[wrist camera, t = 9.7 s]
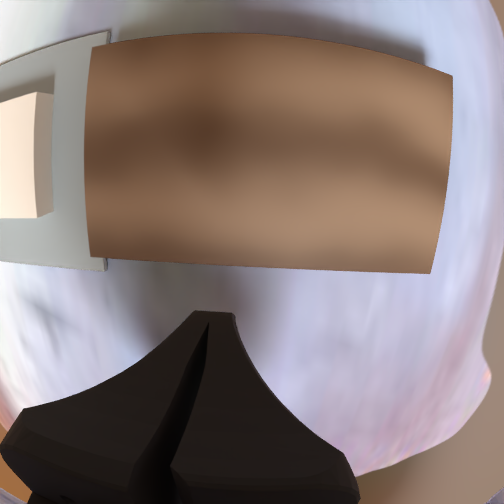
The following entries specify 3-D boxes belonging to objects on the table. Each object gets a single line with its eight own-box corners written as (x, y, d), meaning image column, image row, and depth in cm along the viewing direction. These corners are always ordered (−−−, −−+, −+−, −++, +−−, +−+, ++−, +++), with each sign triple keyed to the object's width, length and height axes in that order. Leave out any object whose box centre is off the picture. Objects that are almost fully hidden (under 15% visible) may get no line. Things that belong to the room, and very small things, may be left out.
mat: (107, 268, 19) (104, 271, 19) (3, 259, 19) (-1, 261, 19) (110, 33, 14) (107, 31, 14) (-1, 68, 14) (-5, 67, 13)
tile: (-16, 218, 15) (0, 211, 17) (36, 218, 15) (53, 211, 17) (-19, 109, 13) (-2, 110, 15) (36, 91, 13) (53, 94, 15)
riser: (409, 256, 19) (430, 273, 16) (110, 241, 19) (90, 257, 16) (427, 82, 15) (452, 75, 12) (113, 58, 15) (92, 47, 12)
